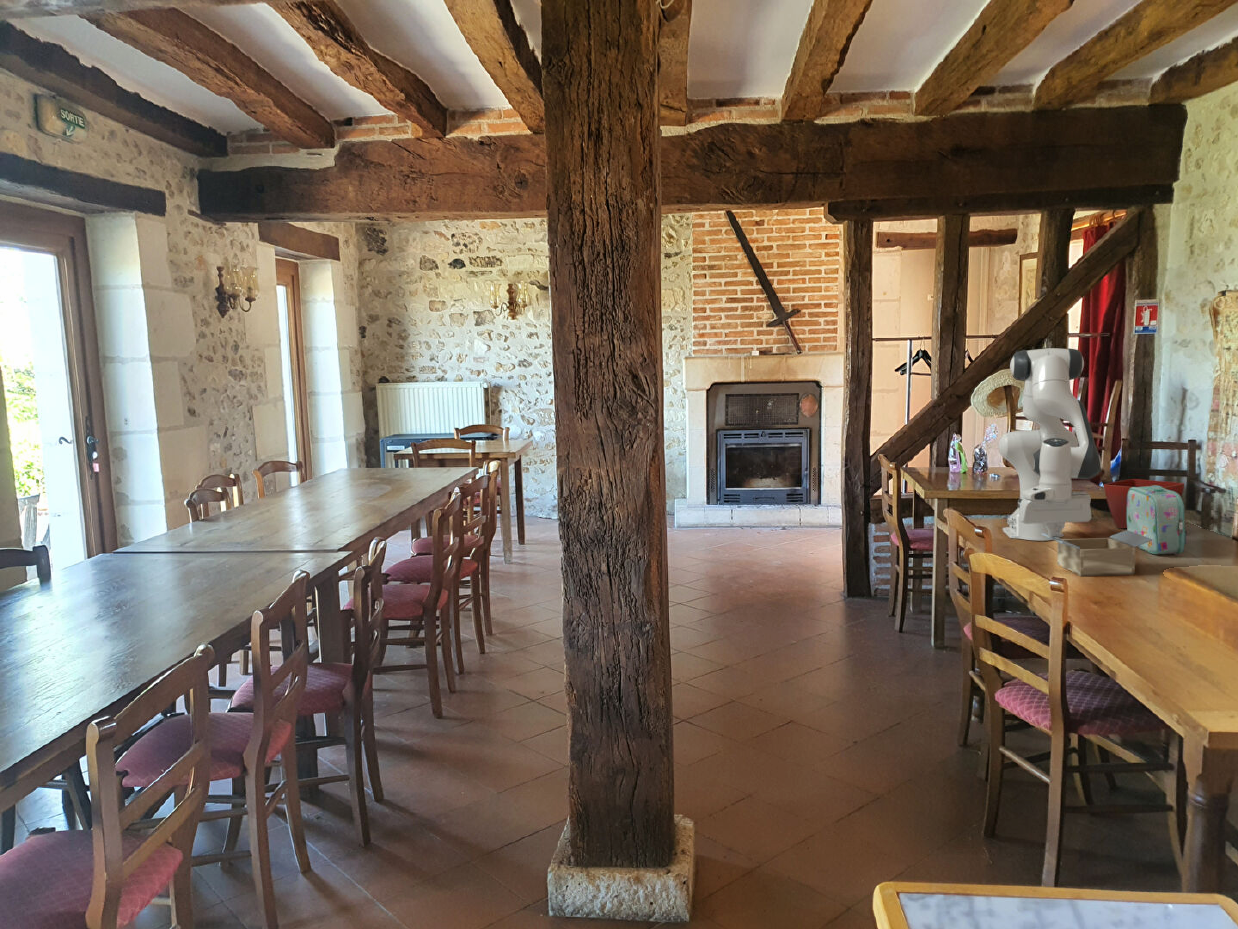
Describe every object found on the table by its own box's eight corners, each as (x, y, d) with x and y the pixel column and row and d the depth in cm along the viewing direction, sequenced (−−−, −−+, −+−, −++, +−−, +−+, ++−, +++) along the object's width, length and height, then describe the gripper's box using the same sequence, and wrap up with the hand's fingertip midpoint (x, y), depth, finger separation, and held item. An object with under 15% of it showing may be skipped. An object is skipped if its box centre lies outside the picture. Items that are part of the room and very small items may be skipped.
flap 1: (1058, 539, 261) (1041, 534, 261) (1058, 538, 261) (1041, 532, 261) (1079, 549, 247) (1061, 543, 247) (1080, 547, 247) (1062, 541, 247)
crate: (1057, 564, 262) (1057, 539, 261) (1108, 562, 261) (1108, 537, 260) (1080, 576, 247) (1080, 550, 246) (1134, 574, 246) (1135, 548, 245)
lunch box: (1191, 558, 262) (1193, 491, 259) (1155, 558, 264) (1156, 492, 261) (1154, 540, 288) (1156, 479, 285) (1122, 540, 290) (1123, 480, 287)
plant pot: (1101, 528, 311) (1102, 483, 309) (1131, 521, 320) (1132, 478, 318) (1154, 536, 295) (1155, 489, 293) (1184, 528, 303) (1185, 483, 302)
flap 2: (1109, 536, 260) (1126, 529, 259) (1110, 537, 260) (1127, 531, 259) (1133, 545, 246) (1152, 539, 246) (1134, 547, 246) (1152, 540, 246)
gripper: (1085, 489, 255) (1084, 533, 256) (1016, 491, 256) (1016, 535, 258) (1095, 492, 248) (1094, 537, 250) (1025, 495, 250) (1025, 540, 251)
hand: (1054, 536), depth 254 cm, fingers closed
